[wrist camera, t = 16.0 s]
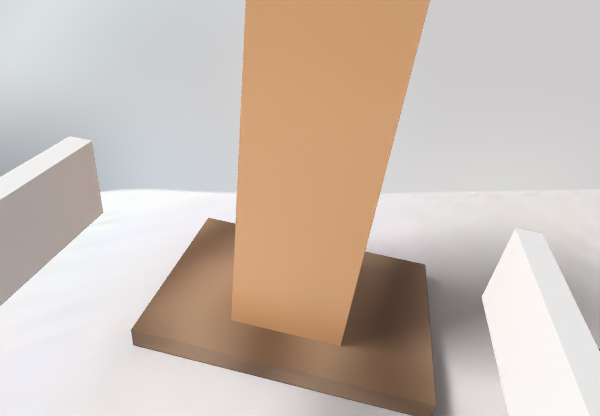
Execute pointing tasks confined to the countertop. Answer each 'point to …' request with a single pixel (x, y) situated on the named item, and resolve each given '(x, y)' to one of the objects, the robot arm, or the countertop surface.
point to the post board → (293, 349)
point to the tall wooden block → (315, 153)
